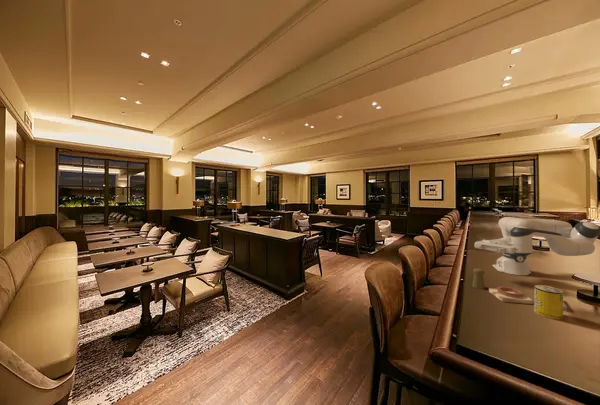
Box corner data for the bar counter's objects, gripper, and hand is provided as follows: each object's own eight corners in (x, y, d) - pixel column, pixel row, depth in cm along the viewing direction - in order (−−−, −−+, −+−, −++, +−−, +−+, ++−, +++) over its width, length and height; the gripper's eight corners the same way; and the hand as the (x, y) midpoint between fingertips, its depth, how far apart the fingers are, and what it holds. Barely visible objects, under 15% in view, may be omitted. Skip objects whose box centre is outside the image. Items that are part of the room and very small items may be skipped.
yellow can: (553, 311, 108) (553, 286, 107) (568, 321, 99) (568, 294, 99) (529, 308, 110) (529, 284, 110) (542, 317, 102) (542, 291, 102)
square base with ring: (488, 291, 130) (488, 284, 130) (516, 293, 127) (516, 286, 127) (502, 301, 118) (502, 294, 118) (533, 304, 114) (533, 296, 114)
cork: (487, 289, 133) (487, 270, 133) (475, 288, 134) (475, 270, 134) (481, 285, 139) (481, 267, 139) (470, 284, 140) (470, 267, 140)
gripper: (519, 254, 139) (510, 257, 132) (480, 248, 157) (470, 250, 150) (519, 244, 139) (510, 246, 132) (480, 238, 157) (470, 241, 150)
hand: (488, 248), depth 142 cm, fingers open, 8 cm apart
